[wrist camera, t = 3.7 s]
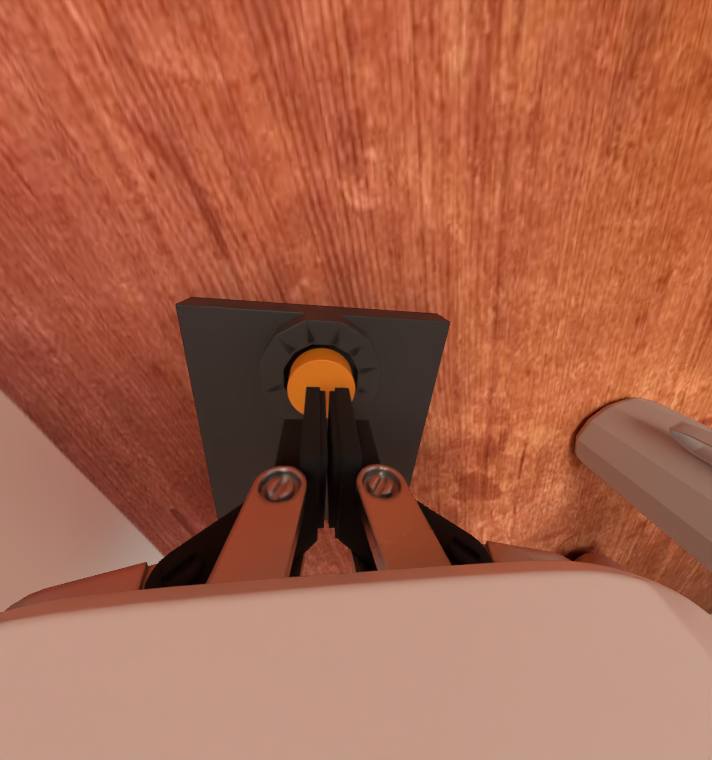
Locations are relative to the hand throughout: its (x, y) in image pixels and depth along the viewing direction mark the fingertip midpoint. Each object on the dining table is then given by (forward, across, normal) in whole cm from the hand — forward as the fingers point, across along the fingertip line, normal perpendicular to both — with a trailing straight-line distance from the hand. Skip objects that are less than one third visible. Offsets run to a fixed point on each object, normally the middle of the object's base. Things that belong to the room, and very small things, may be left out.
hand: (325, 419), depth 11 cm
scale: (+7, 0, +5) cm, 8 cm away
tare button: (+4, 0, 0) cm, 4 cm away
